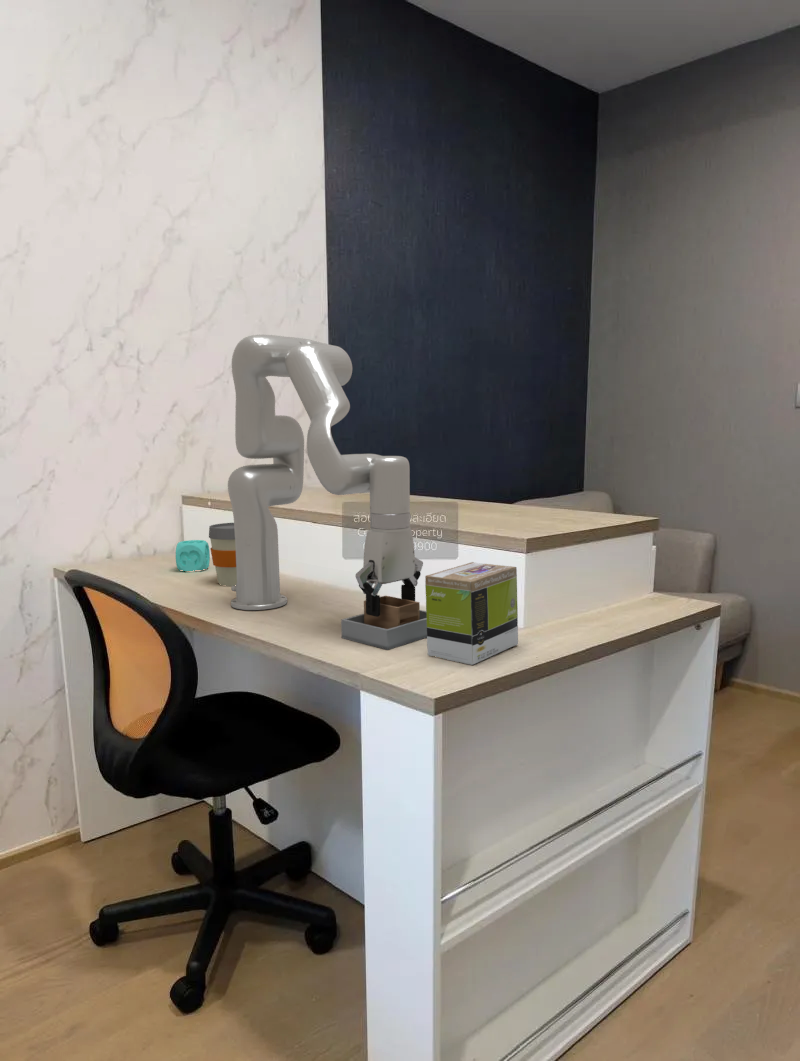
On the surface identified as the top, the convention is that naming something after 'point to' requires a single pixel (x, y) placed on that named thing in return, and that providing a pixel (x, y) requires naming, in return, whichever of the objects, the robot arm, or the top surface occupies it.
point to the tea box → (471, 612)
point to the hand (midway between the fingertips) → (391, 610)
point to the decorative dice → (192, 555)
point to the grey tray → (383, 632)
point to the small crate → (393, 612)
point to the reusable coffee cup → (224, 552)
